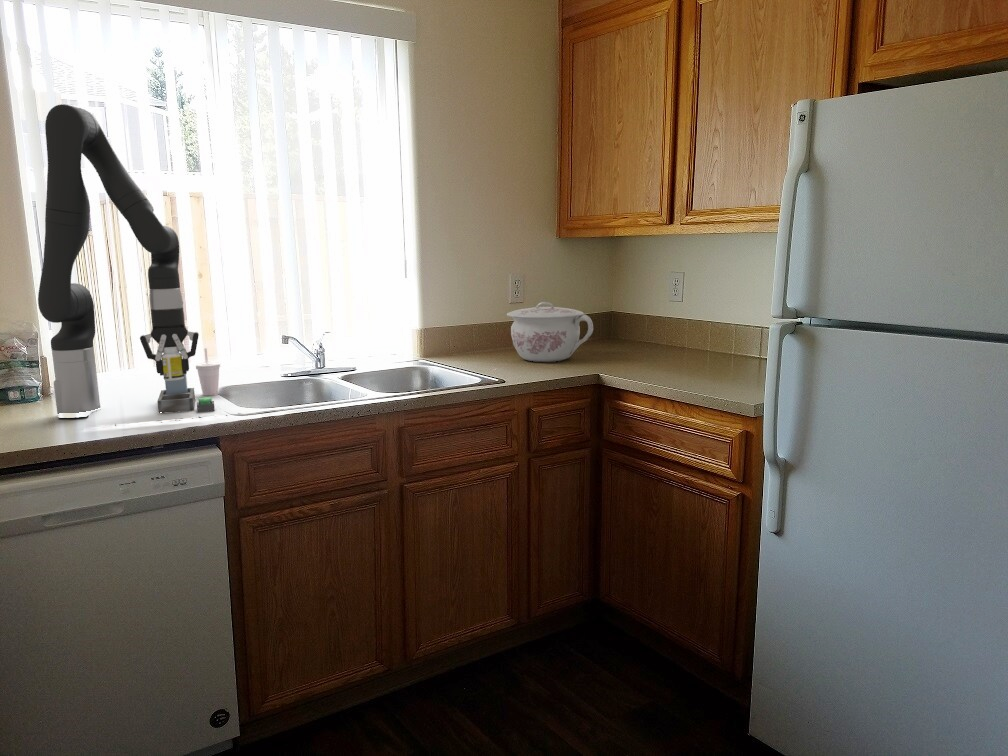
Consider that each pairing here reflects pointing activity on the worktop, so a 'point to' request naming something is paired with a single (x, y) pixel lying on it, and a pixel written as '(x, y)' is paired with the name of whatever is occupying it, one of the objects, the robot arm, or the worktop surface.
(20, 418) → the worktop surface
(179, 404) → the gray open tray
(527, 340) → the chamber pot
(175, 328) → the robot arm
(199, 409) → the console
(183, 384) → the blue block
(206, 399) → the button
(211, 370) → the smoothie
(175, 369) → the supplement bottle
